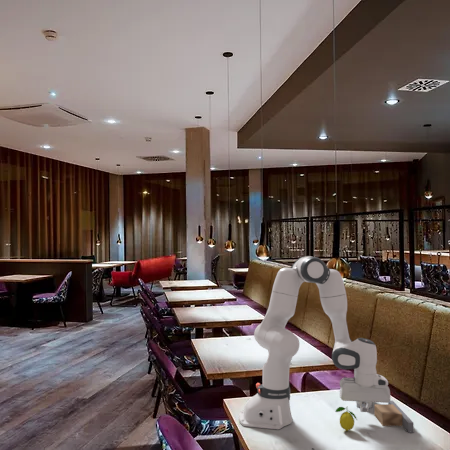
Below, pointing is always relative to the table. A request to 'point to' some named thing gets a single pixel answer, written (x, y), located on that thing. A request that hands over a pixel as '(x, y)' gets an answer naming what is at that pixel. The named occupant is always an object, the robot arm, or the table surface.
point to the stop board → (404, 419)
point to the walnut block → (388, 414)
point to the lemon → (346, 419)
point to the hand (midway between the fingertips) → (364, 411)
